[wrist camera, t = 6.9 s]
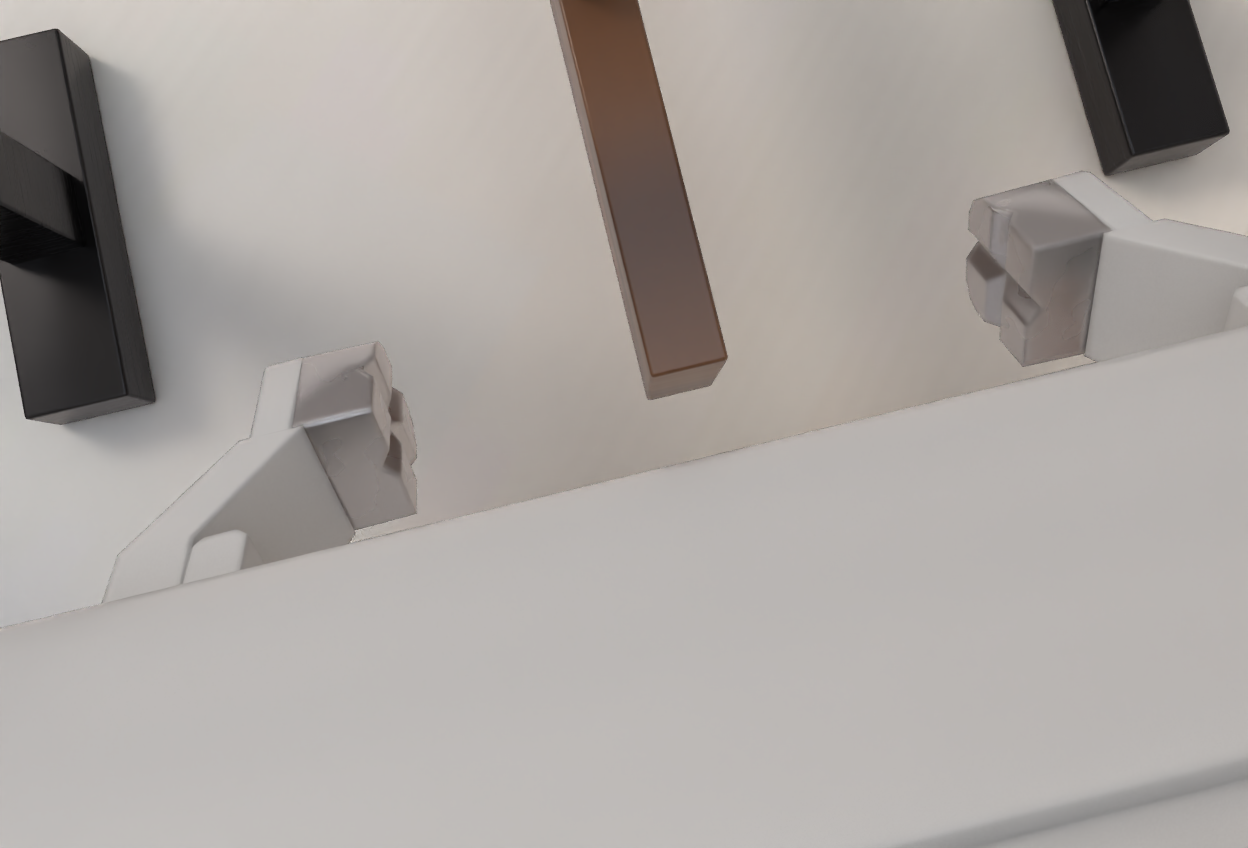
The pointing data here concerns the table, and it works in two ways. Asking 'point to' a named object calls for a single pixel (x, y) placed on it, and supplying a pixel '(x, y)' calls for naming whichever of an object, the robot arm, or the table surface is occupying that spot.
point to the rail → (95, 248)
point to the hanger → (641, 195)
